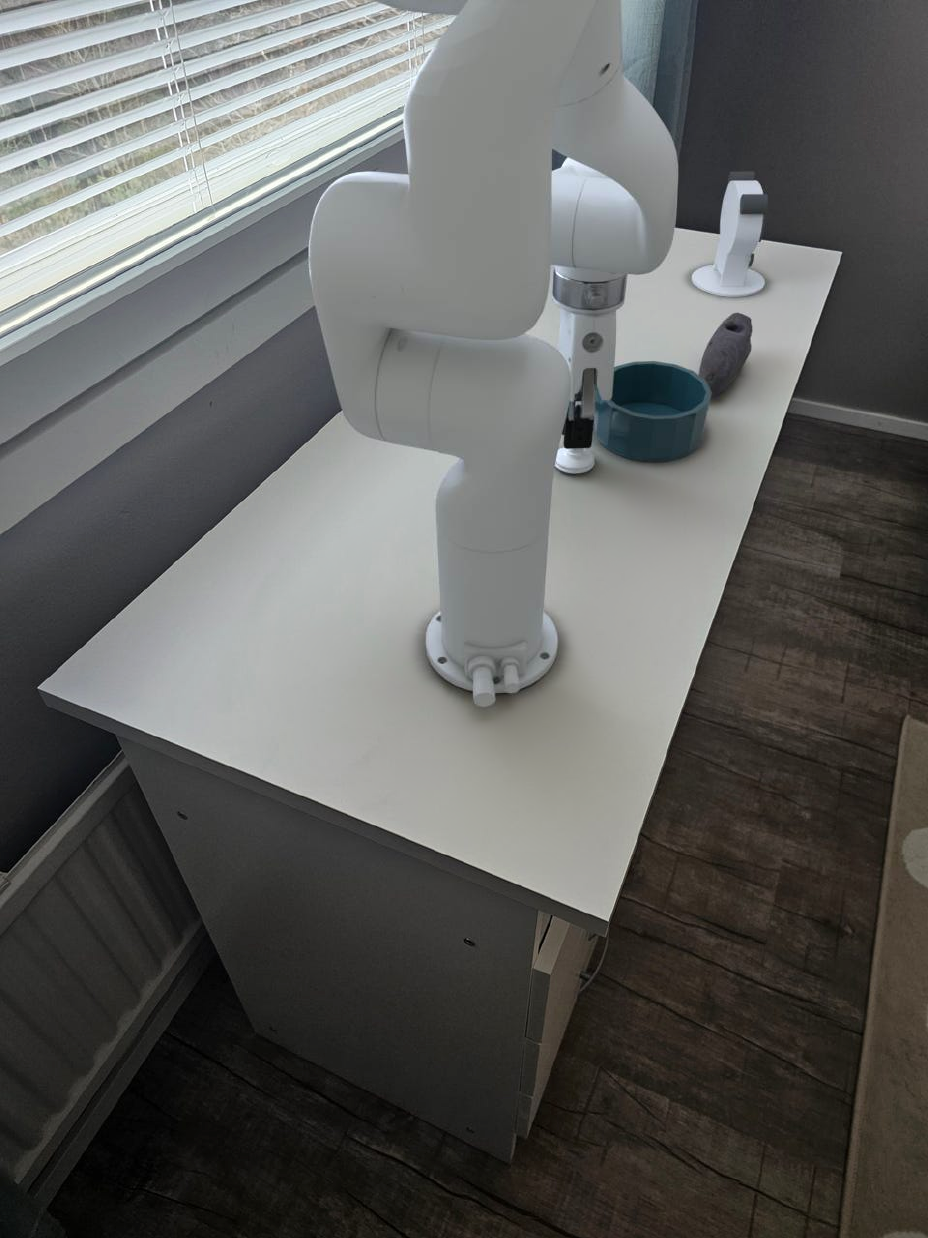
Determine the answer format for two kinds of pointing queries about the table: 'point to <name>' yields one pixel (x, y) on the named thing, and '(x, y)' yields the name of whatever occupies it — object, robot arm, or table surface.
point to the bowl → (653, 412)
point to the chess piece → (574, 458)
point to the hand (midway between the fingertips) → (575, 439)
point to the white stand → (736, 240)
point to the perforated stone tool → (726, 352)
